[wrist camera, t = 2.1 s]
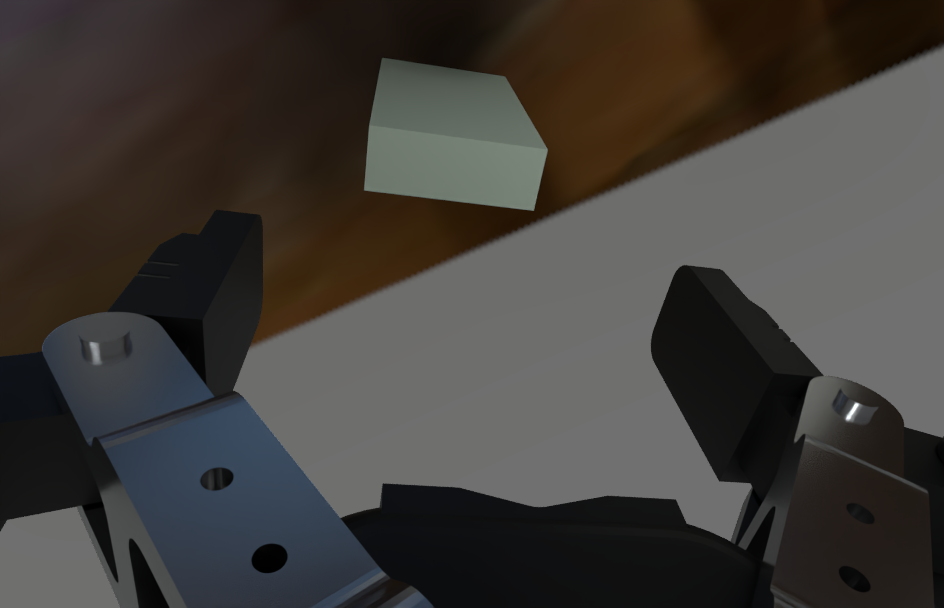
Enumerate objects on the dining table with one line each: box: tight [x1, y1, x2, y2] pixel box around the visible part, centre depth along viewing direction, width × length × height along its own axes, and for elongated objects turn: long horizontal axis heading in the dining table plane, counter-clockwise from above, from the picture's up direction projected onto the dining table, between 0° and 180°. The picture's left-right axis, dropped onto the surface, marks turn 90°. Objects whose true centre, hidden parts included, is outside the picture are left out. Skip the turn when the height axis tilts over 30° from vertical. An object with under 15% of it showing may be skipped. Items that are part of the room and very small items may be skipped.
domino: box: [364, 58, 548, 211], centre depth 21 cm, size 2×5×9 cm, turn 81°
